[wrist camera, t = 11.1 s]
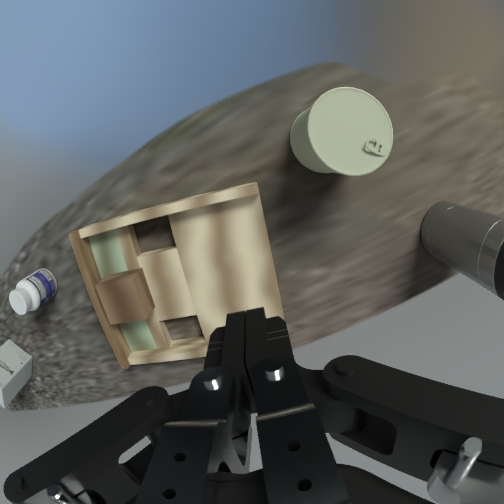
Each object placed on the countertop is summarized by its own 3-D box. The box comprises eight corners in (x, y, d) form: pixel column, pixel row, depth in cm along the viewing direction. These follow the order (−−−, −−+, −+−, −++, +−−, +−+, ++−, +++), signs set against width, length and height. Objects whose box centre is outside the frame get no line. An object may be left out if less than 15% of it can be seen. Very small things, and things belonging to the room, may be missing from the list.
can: (336, 185, 39) (371, 194, 27) (277, 151, 38) (290, 145, 26) (366, 130, 37) (409, 120, 25) (309, 94, 35) (334, 68, 24)
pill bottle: (43, 298, 43) (15, 321, 35) (32, 271, 42) (1, 290, 33) (62, 292, 43) (34, 316, 34) (50, 264, 41) (19, 283, 33)
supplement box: (33, 356, 47) (2, 390, 35) (32, 376, 49) (5, 410, 36) (9, 337, 46) (-24, 367, 34) (8, 358, 47) (-20, 389, 35)
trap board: (256, 181, 39) (257, 184, 34) (285, 327, 45) (289, 345, 40) (85, 226, 40) (68, 233, 35) (131, 351, 46) (122, 368, 41)
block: (142, 267, 40) (132, 277, 36) (155, 306, 41) (147, 319, 37) (106, 275, 40) (94, 285, 36) (120, 311, 41) (110, 324, 38)
